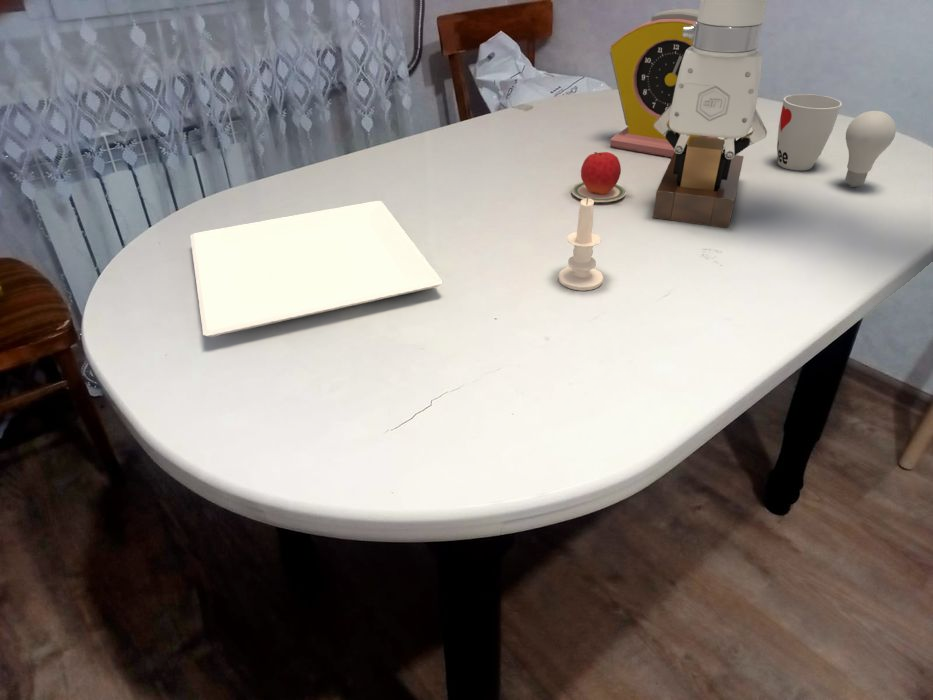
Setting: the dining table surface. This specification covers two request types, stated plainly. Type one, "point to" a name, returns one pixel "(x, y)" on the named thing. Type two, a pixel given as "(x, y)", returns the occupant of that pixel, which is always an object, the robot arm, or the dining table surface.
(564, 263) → the dining table surface
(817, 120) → the cup
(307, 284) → the plate
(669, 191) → the holder
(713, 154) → the peg
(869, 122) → the lightbulb
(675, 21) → the yellow clock scale
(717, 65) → the robot arm
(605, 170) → the apple
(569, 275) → the candle
